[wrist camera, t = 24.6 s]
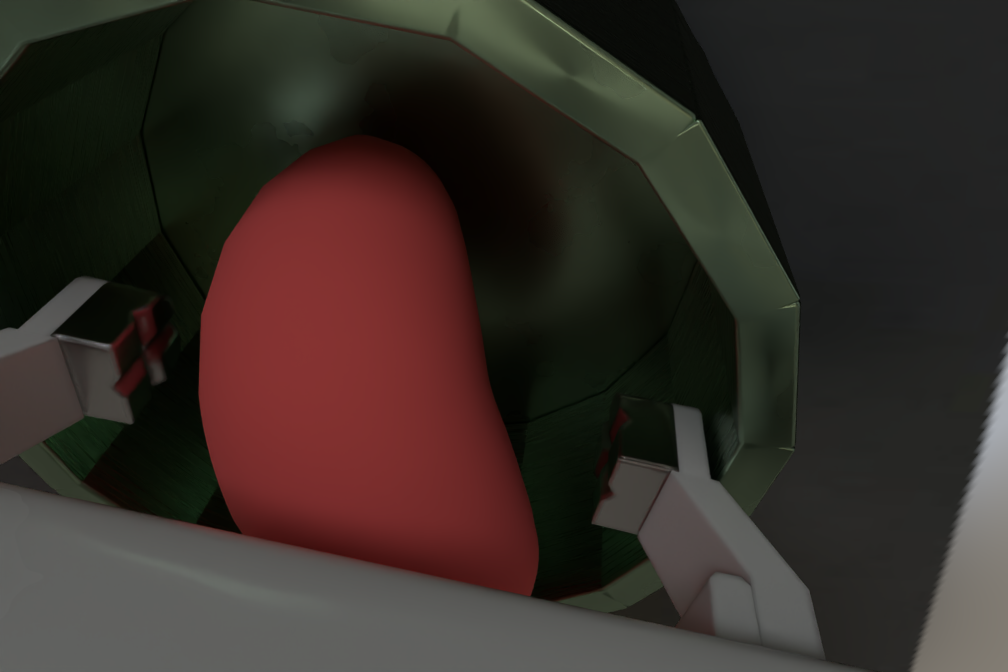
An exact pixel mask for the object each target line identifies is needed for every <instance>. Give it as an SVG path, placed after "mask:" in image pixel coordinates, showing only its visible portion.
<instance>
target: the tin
mask: <svg viewBox="0 0 1008 672" xmlns="http://www.w3.org/2000/svg"><path fill="white" fill-rule="evenodd" d="M353 135H368V136H373V137H377V138H380V139H383V140H386V141H389V142H392V143H395V144H398V145H400V146H403V147H404V148H406V149H408V150H410V151H411V152H413V153H415V154H416V155H417V156H419V157H420V158H421V159H422V160H424V161H425V162H426V163H427V164H428V165H429V166H430V167H431V168H432V170H433V171H434V172H435V173H436V174H437V176H438V177H439V178H440V180H441V181H442V183H443V185H444V187H445V189H446V191H447V192H448V194H449V196H450V198H451V200H452V202H453V204H454V206H455V209H456V211H457V214H458V218H459V222H460V226H461V230H462V233H463V237H464V241H465V245H466V250H467V255H468V260H469V265H470V270H471V275H472V280H473V286H474V292H475V297H476V303H477V308H478V314H479V320H480V325H481V331H482V337H483V344H484V350H485V357H486V364H487V371H488V376H489V381H490V385H491V389H492V392H493V395H494V398H495V401H496V404H497V406H498V409H499V412H500V414H501V417H502V419H503V422H504V425H505V427H506V430H507V432H508V435H509V438H510V441H511V444H512V447H513V450H514V453H515V456H516V459H517V462H518V465H519V468H520V472H521V475H522V478H523V481H524V484H525V487H526V491H527V494H528V498H529V501H530V504H531V508H532V512H533V518H534V523H535V528H536V532H537V536H538V545H539V562H538V569H537V576H536V579H535V583H534V587H533V590H532V593H531V595H530V596H531V597H536V598H540V599H545V600H550V601H554V602H559V603H563V604H568V605H573V606H577V607H582V608H587V609H591V610H596V611H601V612H605V613H609V612H613V611H617V610H622V609H626V608H627V607H628V606H632V605H634V604H636V603H637V602H639V601H641V600H642V599H644V598H646V597H647V596H649V595H651V594H652V593H654V592H656V591H657V590H659V589H661V588H663V587H664V586H663V584H662V582H661V580H660V578H659V576H658V575H657V573H656V571H655V569H654V567H653V565H652V564H651V562H650V560H649V558H648V556H647V554H646V553H645V551H644V549H643V547H642V545H641V543H640V542H639V540H638V538H637V536H638V535H637V534H632V533H628V532H624V531H620V530H616V529H612V528H608V527H604V526H600V525H595V524H591V518H592V492H593V490H594V487H595V485H596V482H597V480H598V479H597V478H596V477H595V475H594V474H593V463H594V454H595V448H596V444H597V440H598V436H599V433H600V430H601V427H602V424H603V423H605V422H606V421H608V420H609V406H610V404H611V401H612V399H613V397H614V395H615V394H616V392H620V393H624V394H629V395H634V396H639V397H644V398H648V399H653V400H658V401H663V402H667V403H670V404H671V403H674V404H679V405H684V406H689V407H694V408H699V410H700V411H701V413H702V419H703V426H704V433H705V440H706V447H707V454H708V461H709V468H710V475H711V479H712V480H716V481H719V482H720V483H721V484H722V485H723V486H724V488H725V489H726V490H727V491H728V492H729V494H730V495H731V496H732V497H733V499H734V500H735V501H736V502H737V503H738V505H739V506H740V507H741V508H742V509H743V511H744V512H745V513H746V514H747V515H748V517H750V516H751V514H752V513H753V512H754V510H755V509H756V507H757V506H758V504H759V503H760V501H761V500H762V498H763V497H764V495H765V494H766V492H767V491H768V489H769V488H770V486H771V485H772V484H773V482H774V481H775V479H776V478H777V476H778V475H779V473H780V472H781V470H782V469H783V467H784V466H785V464H786V463H787V461H788V460H789V458H790V457H791V455H792V454H793V453H794V450H795V447H794V446H795V443H796V426H797V398H798V370H799V343H800V315H801V302H800V294H799V291H798V289H797V286H796V283H795V280H794V277H793V274H792V272H791V269H790V266H789V263H788V260H787V257H786V255H785V252H784V249H783V246H782V243H781V240H780V238H779V235H778V232H777V229H776V226H775V223H774V221H773V218H772V215H771V212H770V209H769V206H768V204H767V201H766V198H765V195H764V192H763V189H762V187H761V184H760V181H759V178H758V175H757V172H756V170H755V167H754V164H753V161H752V158H751V155H750V152H749V150H748V147H747V144H746V141H745V138H744V135H743V133H742V130H741V127H740V124H739V122H738V120H737V118H736V116H735V114H734V112H733V110H732V108H731V106H730V104H729V102H728V101H727V99H726V97H725V95H724V93H723V91H722V89H721V87H720V85H719V83H718V81H717V80H716V78H715V76H714V74H713V72H712V69H711V67H710V65H709V62H708V60H707V58H706V56H705V53H704V51H703V50H702V48H701V46H700V45H699V43H698V42H697V40H696V38H695V37H694V35H693V34H692V32H691V30H690V28H689V26H688V24H687V22H686V20H685V18H684V16H683V15H682V13H681V11H680V9H679V7H678V5H677V3H676V1H675V0H0V330H3V329H6V328H14V329H19V328H20V327H21V326H22V325H23V324H24V323H25V322H26V321H28V320H29V319H30V318H31V317H32V316H33V315H34V314H36V313H37V312H38V311H39V310H40V309H41V308H42V307H44V306H45V305H46V304H47V303H48V302H49V301H50V300H52V299H53V298H54V297H55V296H56V295H57V294H58V293H59V292H61V291H62V290H63V289H64V288H65V287H66V286H67V285H69V284H70V283H71V282H72V281H73V280H74V279H75V278H78V277H82V276H90V277H94V278H98V279H102V280H106V281H110V282H117V283H121V284H125V285H129V286H133V287H138V288H142V289H146V290H150V291H154V292H158V293H163V294H166V295H168V296H169V297H171V298H172V300H173V304H174V308H175V312H176V313H175V314H174V315H173V317H172V318H171V319H170V320H169V321H170V322H171V323H172V324H173V325H174V326H175V328H176V329H177V330H178V331H179V333H180V339H181V352H180V357H179V359H178V362H177V365H176V367H175V370H174V371H173V372H172V374H171V375H170V376H169V378H168V379H167V381H165V382H162V383H160V384H158V385H156V386H153V387H151V389H152V394H153V399H152V400H151V401H150V403H149V404H148V405H147V406H146V408H145V409H144V410H143V412H142V413H141V414H140V415H139V417H138V418H137V419H136V420H135V422H134V423H133V424H128V423H123V422H117V421H112V420H107V419H102V418H96V417H91V416H86V415H84V418H83V419H82V420H80V421H78V422H76V423H74V424H73V425H71V426H69V427H67V428H65V429H64V430H62V431H60V432H58V433H56V434H55V435H53V436H51V437H49V438H48V439H46V440H44V441H42V442H40V443H39V444H37V445H35V446H33V447H31V448H30V449H28V450H26V451H24V452H22V453H21V454H19V455H18V456H19V457H20V458H21V459H22V460H23V461H24V462H25V463H26V464H27V465H28V466H29V467H31V468H32V469H33V470H34V471H35V472H36V473H37V474H38V475H39V476H40V477H41V478H42V479H43V480H44V481H45V482H46V483H47V484H48V485H49V486H50V487H51V488H53V489H55V490H56V491H57V492H58V493H59V494H61V495H62V496H67V497H72V498H76V499H81V500H86V501H90V502H95V503H100V504H104V505H109V506H113V507H118V508H123V509H127V510H132V511H137V512H141V513H146V514H151V515H155V516H160V517H165V518H169V519H174V520H178V521H183V522H188V523H192V524H197V525H202V526H206V527H211V528H215V529H220V530H225V531H229V532H234V533H239V534H242V532H241V531H240V529H239V528H238V526H237V525H236V523H235V522H234V520H233V518H232V516H231V513H230V511H229V509H228V507H227V504H226V502H225V499H224V497H223V494H222V492H221V489H220V486H219V484H218V481H217V478H216V475H215V472H214V468H213V465H212V462H211V458H210V454H209V450H208V446H207V442H206V438H205V433H204V428H203V423H202V417H201V411H200V403H199V395H198V391H199V361H200V331H201V314H202V311H203V308H204V305H205V301H206V298H207V295H208V292H209V289H210V286H211V283H212V280H213V277H214V274H215V270H216V267H217V264H218V261H219V258H220V255H221V252H222V249H223V246H224V243H225V241H226V240H227V238H228V237H229V235H230V234H231V232H232V231H233V229H234V228H235V226H236V225H237V223H238V222H239V220H240V219H241V218H242V216H243V215H244V213H245V212H246V210H247V209H248V207H249V206H250V204H251V203H252V201H253V200H254V198H255V197H256V196H257V194H258V193H259V191H260V190H261V188H262V187H263V186H264V185H265V184H267V183H268V182H269V181H270V180H272V179H273V178H274V177H275V176H277V175H278V174H279V173H280V172H282V171H283V170H284V169H286V168H287V167H288V166H289V165H291V164H292V163H293V162H294V161H296V160H297V159H298V158H299V157H301V156H302V155H303V154H305V153H306V152H308V151H309V150H310V149H313V148H316V147H319V146H322V145H325V144H328V143H331V142H334V141H337V140H340V139H343V138H346V137H349V136H353Z"/></svg>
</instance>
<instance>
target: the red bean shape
mask: <svg viewBox="0 0 1008 672" xmlns="http://www.w3.org/2000/svg"><path fill="white" fill-rule="evenodd" d="M198 395H199V403H200V411H201V417H202V423H203V428H204V433H205V438H206V442H207V446H208V450H209V454H210V458H211V462H212V465H213V468H214V472H215V475H216V478H217V481H218V484H219V486H220V489H221V492H222V494H223V497H224V499H225V502H226V504H227V507H228V509H229V511H230V513H231V516H232V518H233V520H234V522H235V523H236V525H237V526H238V528H239V529H240V531H241V532H242V534H243V535H248V536H252V537H257V538H262V539H266V540H271V541H276V542H280V543H285V544H289V545H294V546H299V547H303V548H308V549H313V550H317V551H322V552H326V553H331V554H336V555H340V556H345V557H350V558H354V559H359V560H364V561H368V562H373V563H378V564H382V565H387V566H391V567H396V568H401V569H405V570H410V571H415V572H419V573H424V574H429V575H433V576H438V577H443V578H447V579H452V580H457V581H461V582H466V583H471V584H475V585H480V586H485V587H489V588H494V589H499V590H503V591H508V592H513V593H517V594H522V595H526V596H530V595H531V593H532V590H533V587H534V583H535V579H536V576H537V569H538V562H539V545H538V536H537V532H536V528H535V523H534V518H533V512H532V508H531V504H530V501H529V498H528V494H527V491H526V487H525V484H524V481H523V478H522V475H521V472H520V468H519V465H518V462H517V459H516V456H515V453H514V450H513V447H512V444H511V441H510V438H509V435H508V432H507V430H506V427H505V425H504V422H503V419H502V417H501V414H500V412H499V409H498V406H497V404H496V401H495V398H494V395H493V392H492V389H491V385H490V381H489V376H488V371H487V364H486V357H485V350H484V344H483V337H482V331H481V325H480V320H479V314H478V308H477V303H476V297H475V292H474V286H473V280H472V275H471V270H470V265H469V260H468V255H467V250H466V245H465V241H464V237H463V233H462V230H461V226H460V222H459V218H458V214H457V211H456V209H455V206H454V204H453V202H452V200H451V198H450V196H449V194H448V192H447V191H446V189H445V187H444V185H443V183H442V181H441V180H440V178H439V177H438V176H437V174H436V173H435V172H434V171H433V170H432V168H431V167H430V166H429V165H428V164H427V163H426V162H425V161H424V160H422V159H421V158H420V157H419V156H417V155H416V154H415V153H413V152H411V151H410V150H408V149H406V148H404V147H403V146H400V145H398V144H395V143H392V142H389V141H386V140H383V139H380V138H377V137H373V136H368V135H353V136H349V137H346V138H343V139H340V140H337V141H334V142H331V143H328V144H325V145H322V146H319V147H316V148H313V149H310V150H309V151H308V152H306V153H305V154H303V155H302V156H301V157H299V158H298V159H297V160H296V161H294V162H293V163H292V164H291V165H289V166H288V167H287V168H286V169H284V170H283V171H282V172H280V173H279V174H278V175H277V176H275V177H274V178H273V179H272V180H270V181H269V182H268V183H267V184H265V185H264V186H263V187H262V188H261V190H260V191H259V193H258V194H257V196H256V197H255V198H254V200H253V201H252V203H251V204H250V206H249V207H248V209H247V210H246V212H245V213H244V215H243V216H242V218H241V219H240V220H239V222H238V223H237V225H236V226H235V228H234V229H233V231H232V232H231V234H230V235H229V237H228V238H227V240H226V241H225V243H224V246H223V249H222V252H221V255H220V258H219V261H218V264H217V267H216V270H215V274H214V277H213V280H212V283H211V286H210V289H209V292H208V295H207V298H206V301H205V305H204V308H203V311H202V314H201V331H200V361H199V391H198Z"/></svg>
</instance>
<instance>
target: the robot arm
mask: <svg viewBox="0 0 1008 672" xmlns="http://www.w3.org/2000/svg"><path fill="white" fill-rule="evenodd" d="M175 313H176V312H175V308H174V304H173V300H172V298H171V297H169V296H168V295H166V294H163V293H158V292H154V291H150V290H146V289H142V288H138V287H133V286H129V285H125V284H121V283H117V282H110V281H106V280H102V279H98V278H94V277H90V276H82V277H78V278H75V279H74V280H73V281H72V282H71V283H70V284H69V285H67V286H66V287H65V288H64V289H63V290H62V291H61V292H59V293H58V294H57V295H56V296H55V297H54V298H53V299H52V300H50V301H49V302H48V303H47V304H46V305H45V306H44V307H42V308H41V309H40V310H39V311H38V312H37V313H36V314H34V315H33V316H32V317H31V318H30V319H29V320H28V321H26V322H25V323H24V324H23V325H22V326H21V327H20V328H19V329H14V328H6V329H3V330H0V465H1V464H3V463H5V462H6V461H8V460H10V459H12V458H13V457H15V456H17V455H19V454H21V453H22V452H24V451H26V450H28V449H30V448H31V447H33V446H35V445H37V444H39V443H40V442H42V441H44V440H46V439H48V438H49V437H51V436H53V435H55V434H56V433H58V432H60V431H62V430H64V429H65V428H67V427H69V426H71V425H73V424H74V423H76V422H78V421H80V420H82V419H83V418H84V415H86V416H91V417H96V418H102V419H107V420H112V421H117V422H123V423H128V424H133V423H134V422H135V420H136V419H137V418H138V417H139V415H140V414H141V413H142V412H143V410H144V409H145V408H146V406H147V405H148V404H149V403H150V401H151V400H152V399H153V394H152V389H151V387H153V386H156V385H158V384H160V383H162V382H165V381H167V379H168V378H169V376H170V375H171V374H172V372H173V371H174V370H175V367H176V365H177V362H178V359H179V357H180V352H181V339H180V333H179V331H178V330H177V329H176V328H175V326H174V325H173V324H172V323H171V322H170V321H169V320H170V319H171V318H172V317H173V315H174V314H175ZM593 474H594V475H595V477H596V478H597V479H598V480H597V482H596V485H595V487H594V490H593V492H592V518H591V524H595V525H600V526H604V527H608V528H612V529H616V530H620V531H624V532H628V533H632V534H637V535H638V536H637V538H638V540H639V542H640V543H641V545H642V547H643V549H644V551H645V553H646V554H647V556H648V558H649V560H650V562H651V564H652V565H653V567H654V569H655V571H656V573H657V575H658V576H659V578H660V580H661V582H662V584H663V586H664V587H665V589H666V591H667V593H668V595H669V597H670V598H671V600H672V602H673V604H674V606H675V608H676V610H677V611H678V613H679V615H680V617H681V619H680V620H679V622H678V623H677V625H676V626H675V627H670V626H665V625H661V624H656V623H651V622H647V621H642V620H638V619H633V618H628V617H624V616H619V615H614V614H610V613H605V612H601V611H596V610H591V609H587V608H582V607H577V606H573V605H568V604H563V603H559V602H554V601H550V600H545V599H540V598H536V597H531V596H526V595H522V594H517V593H513V592H508V591H503V590H499V589H494V588H489V587H485V586H480V585H475V584H471V583H466V582H461V581H457V580H452V579H447V578H443V577H438V576H433V575H429V574H424V573H419V572H415V571H410V570H405V569H401V568H396V567H391V566H387V565H382V564H378V563H373V562H368V561H364V560H359V559H354V558H350V557H345V556H340V555H336V554H331V553H326V552H322V551H317V550H313V549H308V548H303V547H299V546H294V545H289V544H285V543H280V542H276V541H271V540H266V539H262V538H257V537H252V536H248V535H243V534H239V533H234V532H229V531H225V530H220V529H215V528H211V527H206V526H202V525H197V524H192V523H188V522H183V521H178V520H174V519H169V518H165V517H160V516H155V515H151V514H146V513H141V512H137V511H132V510H127V509H123V508H118V507H113V506H109V505H104V504H100V503H95V502H90V501H86V500H81V499H76V498H72V497H67V496H62V495H58V494H53V493H49V492H44V491H39V490H35V489H30V488H25V487H21V486H16V485H11V484H7V483H2V482H0V672H878V671H874V670H869V669H864V668H860V667H855V666H850V665H846V664H841V663H837V662H832V661H827V660H826V659H825V654H824V650H823V646H822V642H821V638H820V633H819V629H818V625H817V621H816V617H815V613H814V608H813V604H812V600H811V596H810V592H809V589H808V588H807V587H806V586H805V584H804V583H803V582H802V581H801V580H800V578H799V577H798V576H797V575H796V574H795V572H794V571H793V570H792V569H791V568H790V566H789V565H788V564H787V563H786V561H785V560H784V559H783V558H782V557H781V555H780V554H779V553H778V552H777V551H776V549H775V548H774V547H773V546H772V545H771V543H770V542H769V541H768V540H767V538H766V537H765V536H764V535H763V534H762V532H761V531H760V530H759V529H758V528H757V526H756V525H755V524H754V523H753V522H752V520H751V519H750V518H749V517H748V515H747V514H746V513H745V512H744V511H743V509H742V508H741V507H740V506H739V505H738V503H737V502H736V501H735V500H734V499H733V497H732V496H731V495H730V494H729V492H728V491H727V490H726V489H725V488H724V486H723V485H722V484H721V483H720V482H719V481H716V480H712V479H711V475H710V468H709V461H708V454H707V447H706V440H705V433H704V426H703V419H702V413H701V411H700V410H699V408H694V407H689V406H684V405H679V404H674V403H671V404H670V403H667V402H663V401H658V400H653V399H648V398H644V397H639V396H634V395H629V394H624V393H620V392H616V394H615V395H614V397H613V399H612V401H611V404H610V406H609V420H608V421H606V422H605V423H603V424H602V427H601V430H600V433H599V436H598V440H597V444H596V448H595V454H594V463H593Z"/></svg>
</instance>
